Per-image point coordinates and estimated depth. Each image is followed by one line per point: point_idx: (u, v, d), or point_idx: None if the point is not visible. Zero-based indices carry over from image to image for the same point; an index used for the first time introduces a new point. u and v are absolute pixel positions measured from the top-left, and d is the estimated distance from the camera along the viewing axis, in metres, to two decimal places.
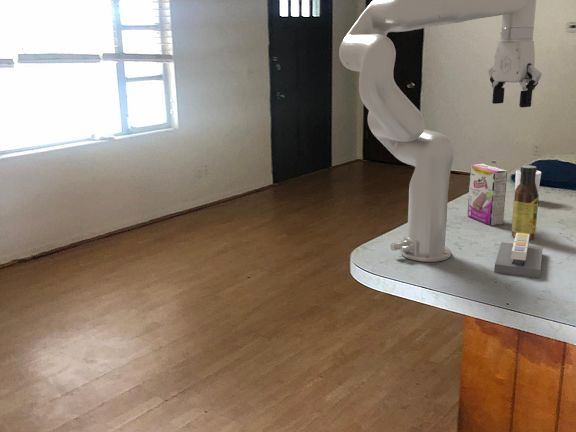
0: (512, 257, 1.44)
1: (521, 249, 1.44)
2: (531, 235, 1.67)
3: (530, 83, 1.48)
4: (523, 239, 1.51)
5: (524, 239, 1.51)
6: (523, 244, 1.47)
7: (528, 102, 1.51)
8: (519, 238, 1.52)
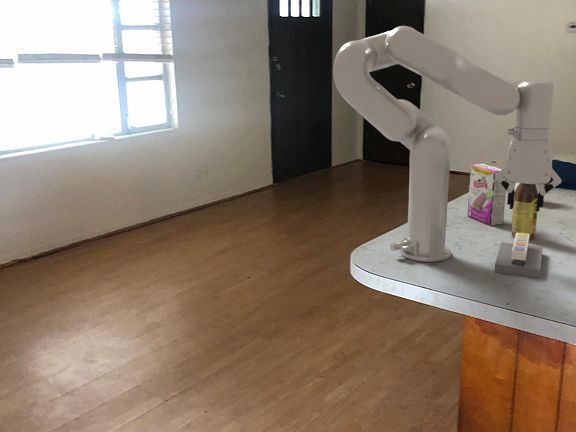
0: (512, 257, 1.44)
1: (521, 249, 1.44)
2: (531, 235, 1.67)
3: (549, 187, 1.45)
4: (523, 239, 1.51)
5: (524, 239, 1.51)
6: (523, 244, 1.47)
7: None
8: (519, 238, 1.52)
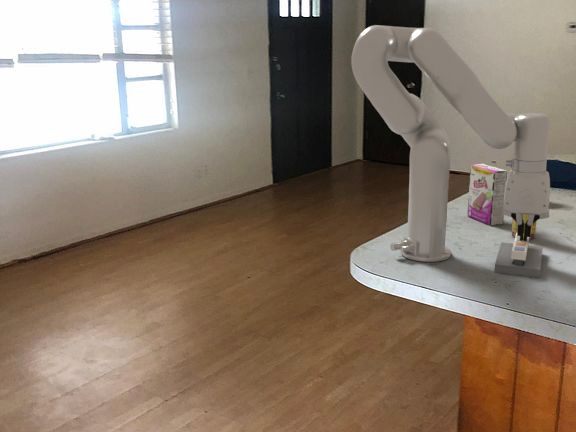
0: (512, 257, 1.44)
1: (521, 249, 1.44)
2: (531, 235, 1.67)
3: (536, 218, 1.48)
4: (523, 239, 1.51)
5: None
6: (523, 244, 1.47)
7: None
8: (519, 238, 1.52)
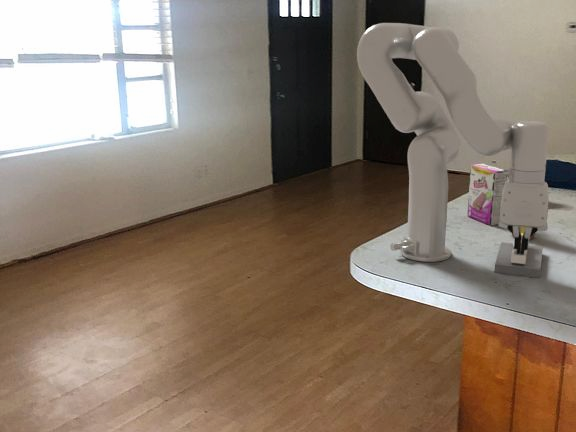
0: (512, 261, 1.44)
1: None
2: None
3: (533, 230, 1.41)
4: None
5: None
6: None
7: (527, 248, 1.44)
8: None
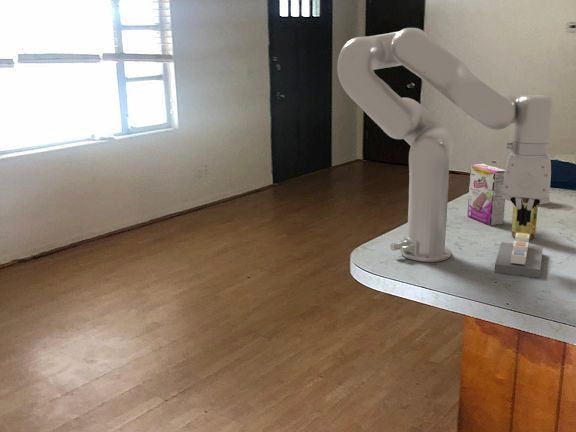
0: (512, 261, 1.44)
1: (521, 253, 1.44)
2: (531, 235, 1.67)
3: (536, 202, 1.44)
4: None
5: None
6: (523, 244, 1.47)
7: None
8: None
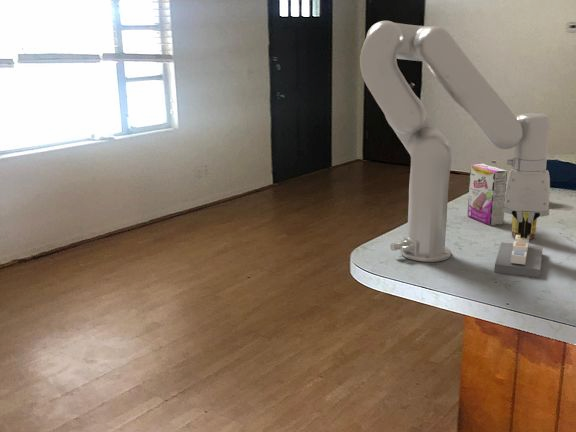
0: (512, 261, 1.44)
1: (521, 253, 1.44)
2: (531, 235, 1.67)
3: (536, 215, 1.51)
4: None
5: None
6: (523, 244, 1.47)
7: (530, 232, 1.54)
8: None
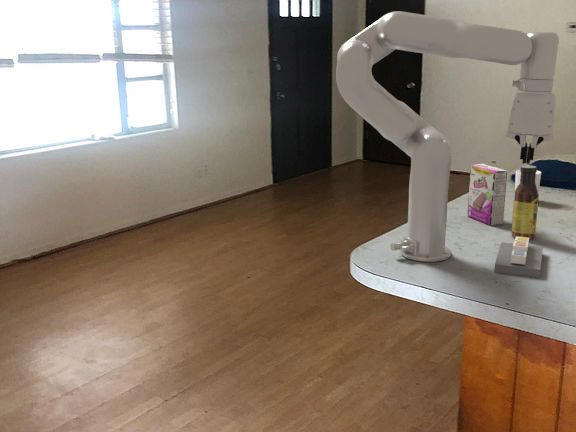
0: (512, 261, 1.44)
1: (521, 253, 1.44)
2: (531, 235, 1.67)
3: (539, 140, 1.47)
4: None
5: None
6: (523, 244, 1.47)
7: None
8: None
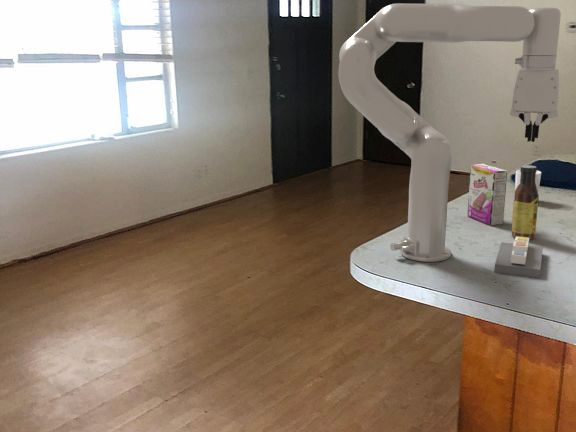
0: (512, 261, 1.44)
1: (521, 253, 1.44)
2: (531, 235, 1.67)
3: (544, 117, 1.46)
4: None
5: None
6: (523, 244, 1.47)
7: None
8: None
